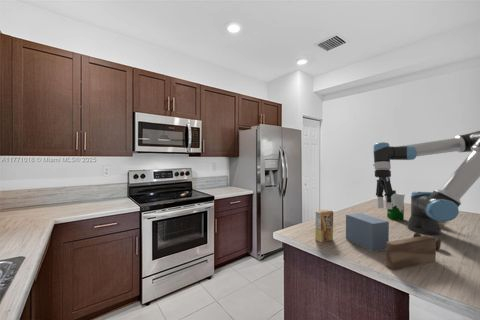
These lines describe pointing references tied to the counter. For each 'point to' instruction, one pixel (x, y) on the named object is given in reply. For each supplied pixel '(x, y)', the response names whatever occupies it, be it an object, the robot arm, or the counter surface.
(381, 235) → the block
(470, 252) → the counter surface
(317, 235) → the candy box
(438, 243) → the kendama
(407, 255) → the board
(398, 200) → the milk carton
